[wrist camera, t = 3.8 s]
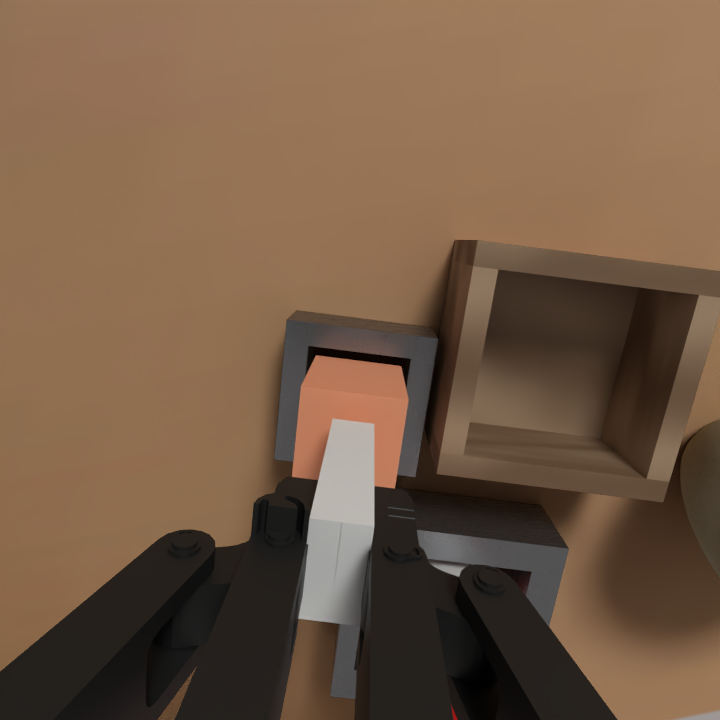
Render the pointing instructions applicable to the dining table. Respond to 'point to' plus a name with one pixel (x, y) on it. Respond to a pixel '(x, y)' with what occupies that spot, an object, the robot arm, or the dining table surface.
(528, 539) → the socket
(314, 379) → the key
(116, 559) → the dining table surface
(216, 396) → the dining table surface
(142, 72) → the dining table surface
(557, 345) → the open wooden box
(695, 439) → the flower pot
